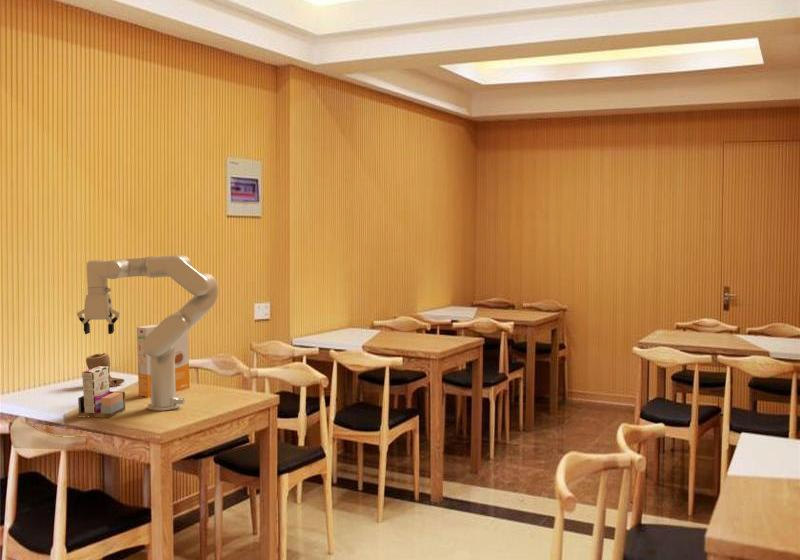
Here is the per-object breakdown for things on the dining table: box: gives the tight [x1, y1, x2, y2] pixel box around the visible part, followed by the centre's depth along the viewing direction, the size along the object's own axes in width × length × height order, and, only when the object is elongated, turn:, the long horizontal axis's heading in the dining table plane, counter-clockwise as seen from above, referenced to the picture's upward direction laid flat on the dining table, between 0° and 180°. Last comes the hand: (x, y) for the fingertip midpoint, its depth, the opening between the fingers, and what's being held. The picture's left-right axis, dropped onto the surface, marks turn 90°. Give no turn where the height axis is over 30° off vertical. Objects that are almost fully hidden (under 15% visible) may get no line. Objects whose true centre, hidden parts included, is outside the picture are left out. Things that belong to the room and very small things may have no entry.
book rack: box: [77, 390, 126, 418], centre depth 301 cm, size 13×12×8 cm
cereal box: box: [136, 323, 190, 398], centre depth 339 cm, size 22×6×30 cm, turn 146°
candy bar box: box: [81, 366, 111, 413], centre depth 300 cm, size 11×5×16 cm, turn 170°
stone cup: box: [85, 352, 125, 387], centre depth 353 cm, size 15×12×15 cm
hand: (99, 333), depth 308 cm, fingers open, 9 cm apart
